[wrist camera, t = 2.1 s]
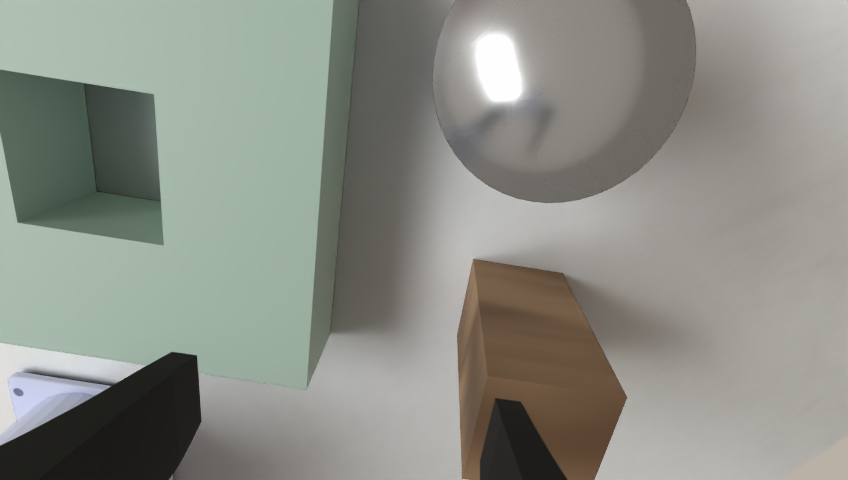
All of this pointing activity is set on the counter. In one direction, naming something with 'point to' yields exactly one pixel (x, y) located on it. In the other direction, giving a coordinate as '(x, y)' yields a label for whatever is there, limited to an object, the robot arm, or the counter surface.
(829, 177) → the counter surface
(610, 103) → the steel peg
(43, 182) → the socket block
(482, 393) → the walnut peg
